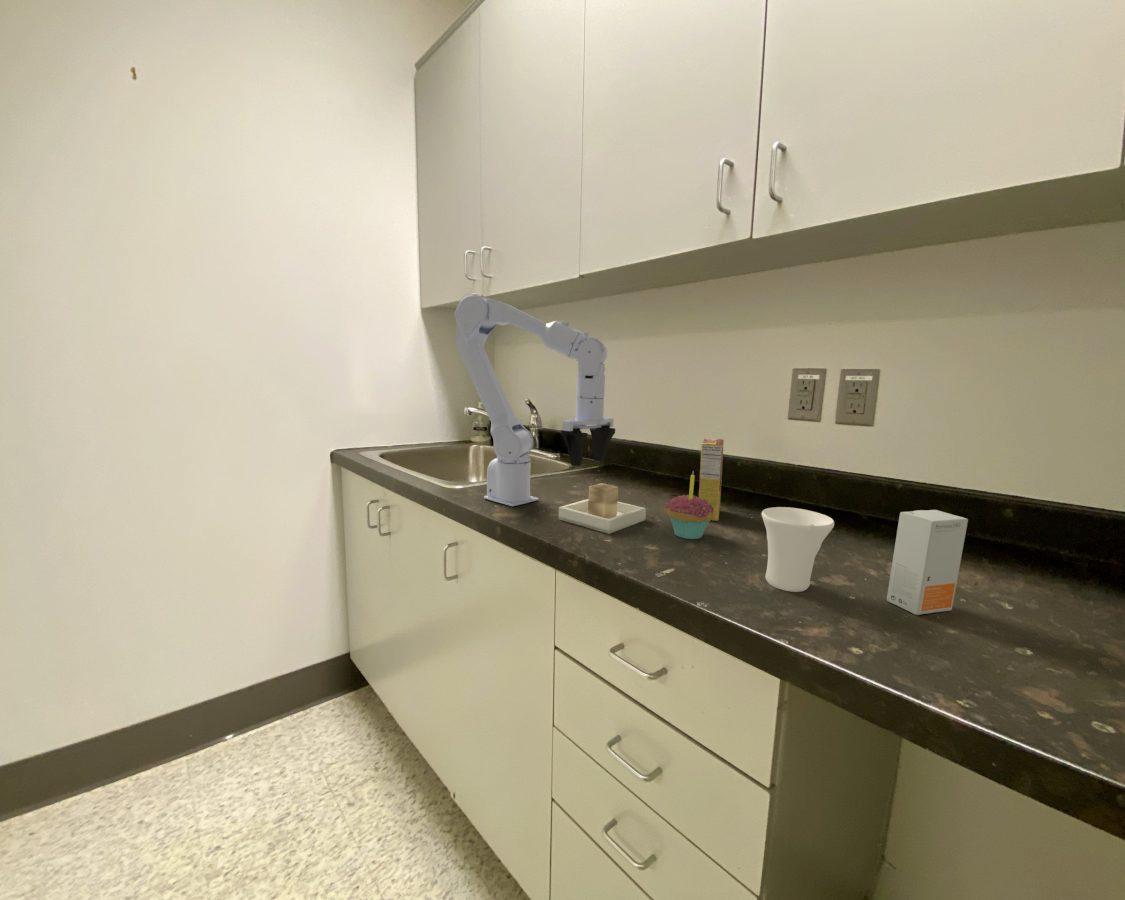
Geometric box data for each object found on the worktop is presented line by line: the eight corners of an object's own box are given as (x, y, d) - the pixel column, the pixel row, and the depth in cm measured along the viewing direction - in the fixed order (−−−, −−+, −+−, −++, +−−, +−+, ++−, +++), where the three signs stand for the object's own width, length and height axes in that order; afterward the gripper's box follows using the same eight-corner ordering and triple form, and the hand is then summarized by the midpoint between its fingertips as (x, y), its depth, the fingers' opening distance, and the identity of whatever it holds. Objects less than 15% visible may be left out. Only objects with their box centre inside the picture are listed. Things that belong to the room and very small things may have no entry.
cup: (765, 596, 62) (772, 522, 61) (748, 568, 71) (754, 503, 70) (838, 602, 61) (848, 527, 60) (811, 573, 70) (819, 507, 69)
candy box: (699, 507, 104) (704, 437, 102) (720, 510, 103) (725, 439, 100) (695, 519, 96) (701, 443, 93) (718, 521, 94) (724, 444, 92)
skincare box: (917, 617, 58) (932, 521, 56) (885, 601, 62) (898, 511, 60) (954, 611, 60) (970, 518, 58) (920, 596, 64) (934, 508, 62)
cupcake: (715, 544, 81) (721, 475, 79) (664, 540, 82) (668, 472, 81) (708, 529, 90) (713, 465, 88) (662, 525, 91) (666, 463, 89)
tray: (558, 519, 93) (558, 507, 93) (596, 507, 102) (596, 496, 101) (608, 534, 85) (609, 520, 85) (645, 520, 94) (645, 508, 94)
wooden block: (587, 516, 93) (588, 486, 92) (600, 512, 96) (601, 483, 95) (604, 521, 91) (605, 490, 90) (616, 516, 94) (618, 486, 93)
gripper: (582, 399, 91) (580, 470, 93) (626, 398, 102) (623, 461, 104) (555, 397, 95) (553, 465, 98) (599, 396, 106) (597, 457, 108)
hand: (587, 463), depth 101 cm, fingers open, 7 cm apart
